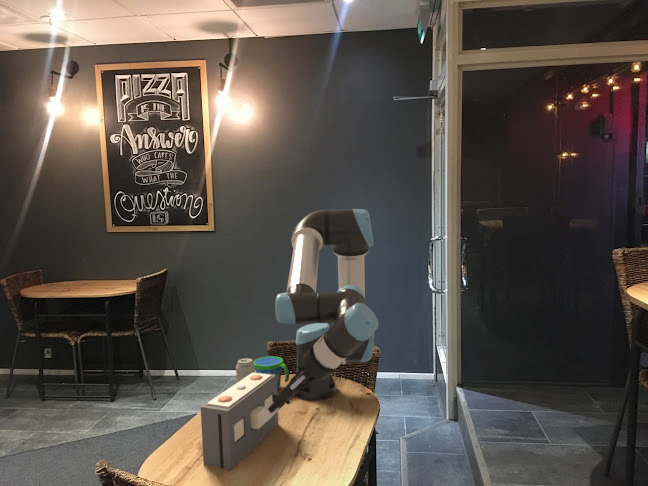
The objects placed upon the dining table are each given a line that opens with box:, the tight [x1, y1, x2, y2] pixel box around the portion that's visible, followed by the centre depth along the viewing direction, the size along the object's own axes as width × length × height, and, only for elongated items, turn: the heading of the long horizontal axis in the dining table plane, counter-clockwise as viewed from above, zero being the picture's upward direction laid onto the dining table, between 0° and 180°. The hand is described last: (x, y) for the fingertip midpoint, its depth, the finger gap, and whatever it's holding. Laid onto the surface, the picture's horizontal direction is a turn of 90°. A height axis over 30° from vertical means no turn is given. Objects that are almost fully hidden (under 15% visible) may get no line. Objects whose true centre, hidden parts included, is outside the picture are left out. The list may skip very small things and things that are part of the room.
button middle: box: [250, 406, 266, 429], centre depth 131 cm, size 3×4×4 cm, turn 158°
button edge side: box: [234, 418, 244, 442], centre depth 124 cm, size 3×4×4 cm, turn 158°
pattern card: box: [206, 373, 272, 408], centre depth 132 cm, size 6×23×1 cm, turn 158°
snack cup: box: [253, 355, 290, 390], centre depth 171 cm, size 16×10×10 cm
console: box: [200, 372, 279, 471], centre depth 133 cm, size 8×26×15 cm, turn 158°
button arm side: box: [264, 395, 272, 407], centre depth 139 cm, size 3×4×4 cm, turn 158°
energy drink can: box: [235, 357, 255, 383], centre depth 158 cm, size 6×6×15 cm
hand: (264, 416), depth 120 cm, fingers closed
